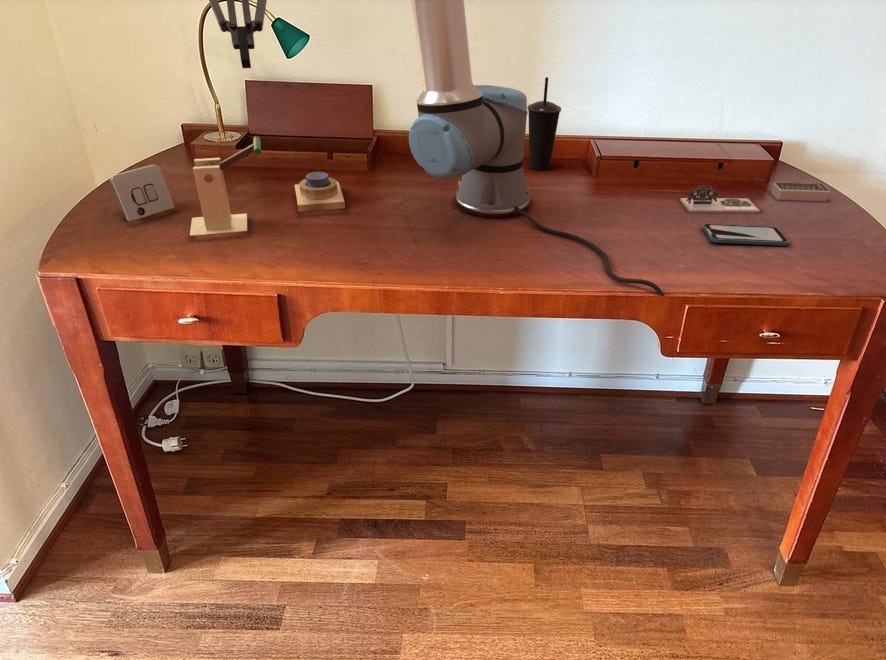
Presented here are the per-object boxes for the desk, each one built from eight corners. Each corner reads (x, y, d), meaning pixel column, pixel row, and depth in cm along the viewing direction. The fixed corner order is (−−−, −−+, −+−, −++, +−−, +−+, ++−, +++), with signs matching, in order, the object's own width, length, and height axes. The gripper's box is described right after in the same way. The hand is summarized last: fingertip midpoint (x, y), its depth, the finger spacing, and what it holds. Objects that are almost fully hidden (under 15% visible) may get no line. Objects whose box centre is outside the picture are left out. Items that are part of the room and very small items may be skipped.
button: (328, 180, 139) (327, 171, 138) (330, 188, 136) (329, 178, 135) (306, 181, 138) (305, 172, 137) (307, 189, 135) (306, 180, 134)
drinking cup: (539, 159, 166) (547, 72, 155) (562, 168, 161) (571, 79, 150) (516, 165, 162) (522, 76, 151) (538, 174, 157) (546, 83, 146)
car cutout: (689, 212, 142) (694, 191, 140) (680, 200, 148) (684, 179, 145) (759, 212, 143) (765, 192, 141) (747, 200, 149) (752, 180, 146)
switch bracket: (248, 219, 133) (236, 153, 125) (248, 236, 126) (236, 168, 119) (193, 223, 130) (178, 157, 123) (190, 241, 124) (174, 172, 116)
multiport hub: (770, 192, 153) (773, 182, 151) (819, 193, 153) (822, 183, 152) (777, 199, 149) (780, 189, 148) (827, 201, 149) (830, 191, 148)
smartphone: (790, 242, 129) (712, 239, 129) (789, 247, 130) (711, 244, 129) (776, 226, 135) (701, 223, 135) (774, 230, 136) (700, 227, 135)
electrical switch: (131, 227, 128) (115, 178, 123) (118, 222, 131) (101, 173, 126) (177, 212, 134) (163, 165, 129) (163, 208, 137) (149, 161, 132)
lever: (263, 143, 125) (255, 132, 123) (264, 156, 119) (256, 144, 118) (207, 175, 125) (198, 164, 124) (205, 189, 120) (196, 178, 118)
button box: (339, 192, 145) (337, 172, 142) (345, 213, 136) (343, 191, 134) (296, 195, 143) (293, 175, 140) (299, 216, 134) (296, 195, 132)
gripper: (269, -37, 132) (284, 74, 129) (197, -38, 129) (211, 76, 126) (265, -68, 125) (281, 50, 121) (189, -69, 122) (204, 51, 118)
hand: (245, 63), depth 124 cm, fingers closed
